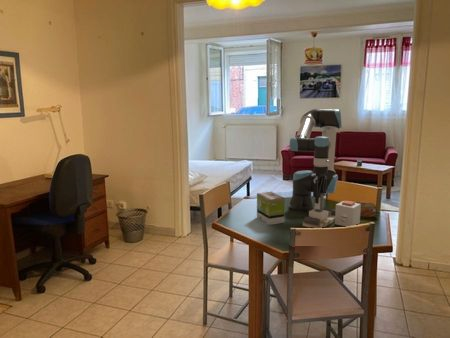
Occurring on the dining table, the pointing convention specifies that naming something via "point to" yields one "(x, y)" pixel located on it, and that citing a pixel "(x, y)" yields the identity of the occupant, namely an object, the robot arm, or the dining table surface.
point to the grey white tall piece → (319, 211)
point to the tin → (367, 209)
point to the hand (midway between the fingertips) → (318, 208)
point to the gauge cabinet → (347, 214)
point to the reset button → (348, 203)
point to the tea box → (270, 207)
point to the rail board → (323, 223)
